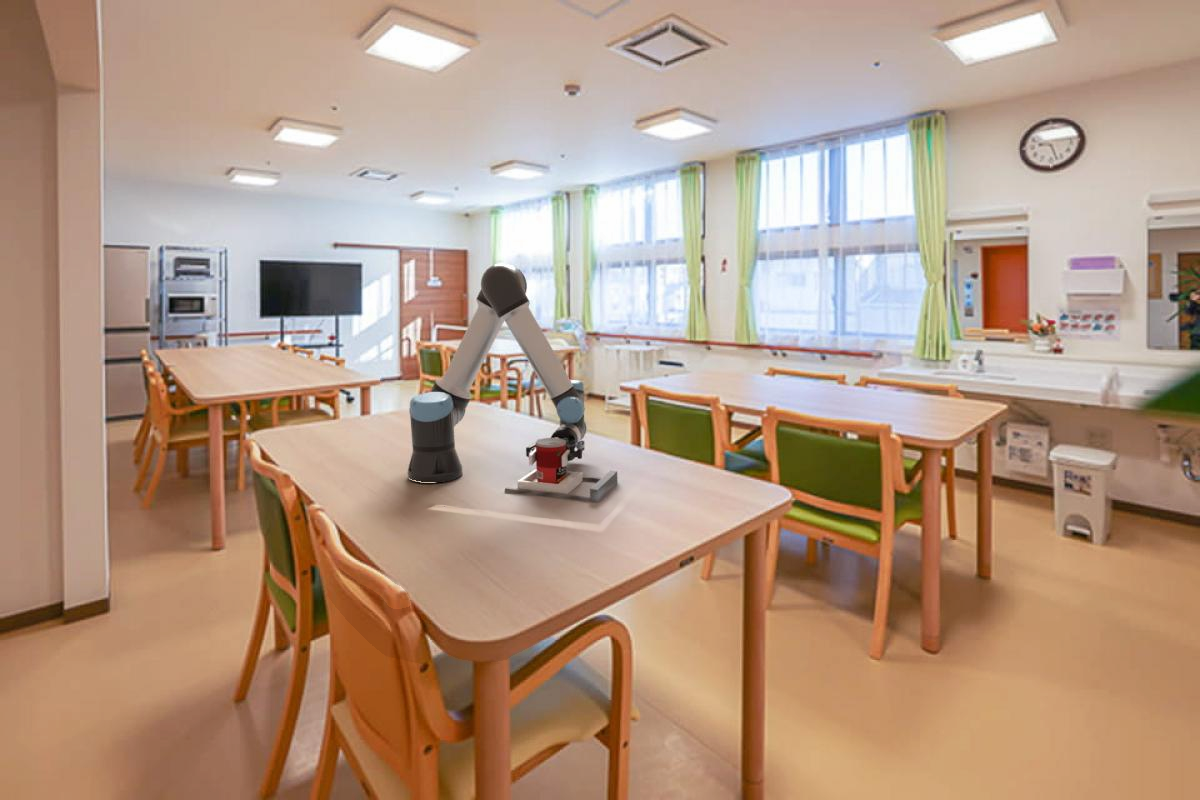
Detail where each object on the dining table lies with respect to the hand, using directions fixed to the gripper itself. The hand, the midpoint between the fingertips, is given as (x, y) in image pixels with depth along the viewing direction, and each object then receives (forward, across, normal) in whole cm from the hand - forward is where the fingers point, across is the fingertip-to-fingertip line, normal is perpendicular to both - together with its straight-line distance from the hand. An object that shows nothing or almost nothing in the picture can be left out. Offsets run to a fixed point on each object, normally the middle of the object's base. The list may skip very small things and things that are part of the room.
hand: (546, 460), depth 156 cm
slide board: (-4, -4, -9) cm, 11 cm away
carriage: (-5, +1, -8) cm, 10 cm away
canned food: (-5, 0, -7) cm, 9 cm away
